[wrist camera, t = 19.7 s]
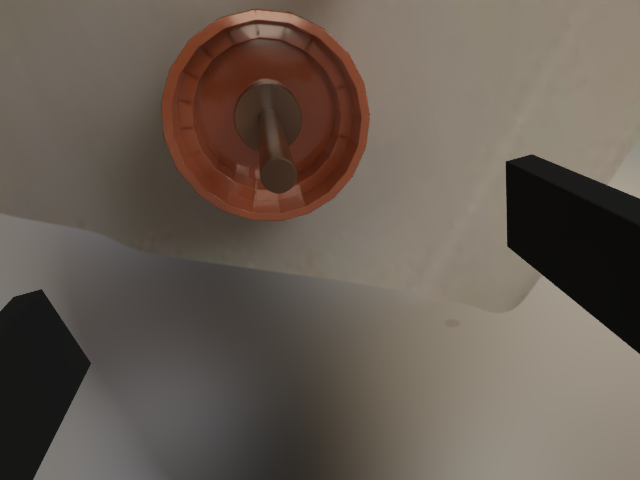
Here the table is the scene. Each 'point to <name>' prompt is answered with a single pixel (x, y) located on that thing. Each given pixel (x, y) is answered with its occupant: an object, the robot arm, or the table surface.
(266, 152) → the dark brown rod
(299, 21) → the bowl
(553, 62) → the table surface
